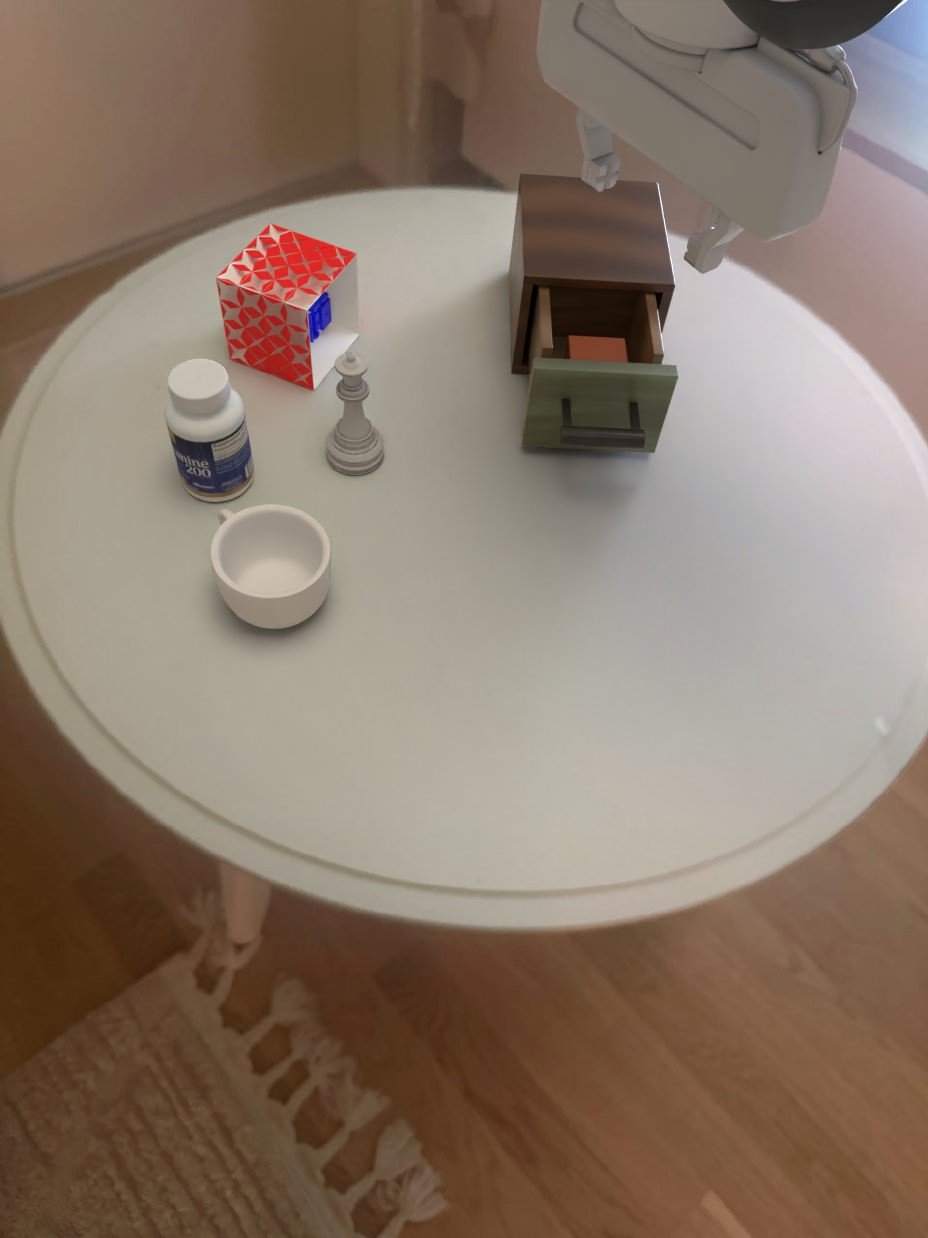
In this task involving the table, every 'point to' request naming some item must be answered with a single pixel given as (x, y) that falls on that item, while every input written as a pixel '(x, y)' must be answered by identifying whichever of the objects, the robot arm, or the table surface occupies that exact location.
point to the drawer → (596, 372)
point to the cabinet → (585, 245)
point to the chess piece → (353, 422)
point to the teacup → (271, 564)
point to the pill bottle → (208, 431)
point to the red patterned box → (290, 305)
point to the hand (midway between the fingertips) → (647, 222)
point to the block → (596, 349)
